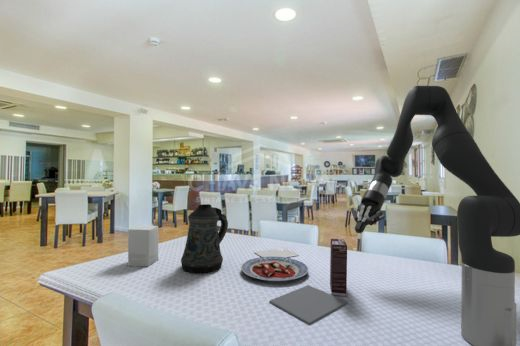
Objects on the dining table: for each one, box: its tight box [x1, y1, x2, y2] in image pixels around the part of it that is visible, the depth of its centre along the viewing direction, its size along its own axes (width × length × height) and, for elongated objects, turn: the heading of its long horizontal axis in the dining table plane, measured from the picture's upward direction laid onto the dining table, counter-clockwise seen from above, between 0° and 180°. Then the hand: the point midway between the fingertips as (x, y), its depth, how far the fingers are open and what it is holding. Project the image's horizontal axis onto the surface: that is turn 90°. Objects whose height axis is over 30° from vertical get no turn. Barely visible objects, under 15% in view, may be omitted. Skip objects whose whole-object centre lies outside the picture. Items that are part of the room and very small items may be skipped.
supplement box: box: [329, 238, 348, 297], centre depth 87 cm, size 9×5×16 cm, turn 168°
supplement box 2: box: [127, 225, 159, 267], centre depth 112 cm, size 9×9×15 cm
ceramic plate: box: [240, 256, 309, 282], centre depth 103 cm, size 26×26×3 cm
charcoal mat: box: [269, 284, 349, 325], centre depth 78 cm, size 15×18×1 cm
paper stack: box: [253, 248, 298, 258], centre depth 132 cm, size 23×25×1 cm
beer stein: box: [180, 203, 229, 275], centre depth 109 cm, size 16×19×25 cm
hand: (357, 231), depth 95 cm, fingers closed
